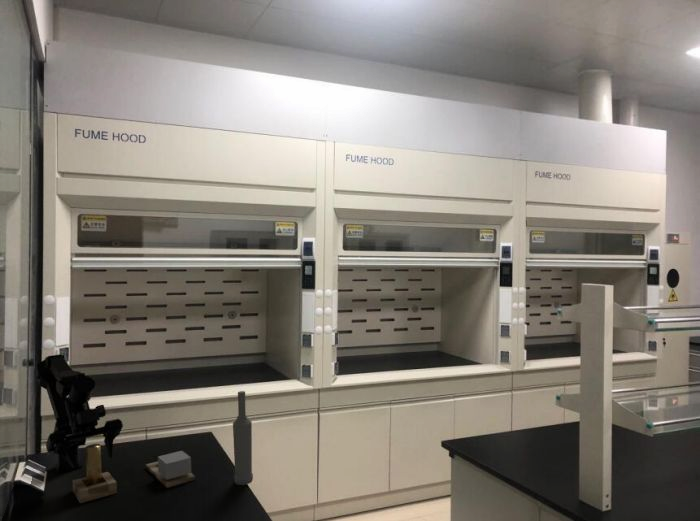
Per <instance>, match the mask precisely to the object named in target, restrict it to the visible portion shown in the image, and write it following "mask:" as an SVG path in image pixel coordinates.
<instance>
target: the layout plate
mask: <svg viewBox="0 0 700 521" xmlns="http://www.w3.org/2000/svg"><path fill="white" fill-rule="evenodd" d="M145 468H146V469H147V471H149V472H150V473H151V474H152V476H153V477H155V478H156V479H157V480H158V481H159V482H160V483H161V484H162V485H163V486H164V487H165V488H166V489H167V488H172V487H175V486H178V485H181V484H185V483H189V482H192V481H195V480H196V476H195V475H194V474H193V473H192V472H191V473H189V474H186V475H182V476H179V477H175V478H171V479H168V480H166V479H165V478H164V477H163V476H162V475H161V474H160V473H159V472H158V461H155V462H151V463H146V464H145Z"/></svg>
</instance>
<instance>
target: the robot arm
mask: <svg viewBox="0 0 700 521" xmlns="http://www.w3.org/2000/svg"><path fill="white" fill-rule="evenodd" d="M33 376H34V380H36V381H37V383H38V385H39V387H41V388H43V389H44V390H46V392H47V395H48V399H49V402H50V405H51V408H52V411H53V415H54V418H55V423H54V429H53V431H52V432H50V433H49V435H48V437H47V441H46V444H45V445H46V446H45V447H46V452H47V453H53V455H57V464H55V465H54V468H55V469H56V471H57V472H58V473H62V472H63V473H64V472H68V471H72V470H76V469H80V468H83V464H82V463H81V461H80V448H79V447H82V446H85V445H86V441H87V438H90V437H91V438H92V437H95V436H100V435H102V436H103V438H104V440H103V442H104V445H105V450H106V453H107V456H108V459H112V457H113V447H114V446H113V445H114V440H116V437H118V436H119V435H120V434H121V432H122V429H123V427H124V424H123V422H122V420H121V419H119V418H115V419H110V420H106V421H105V423H104V426H99V427H97V426H98V424H99V421H100V419H101V418H104V417H106V408H105V405H104V404H99V405H97V406H95V407H94V408H90V404H89V401H90V400H91V398H92V396H93V393H94V391H95V390H94V389H95V387H96V381H95V380H94V378H92V377H91V376H87V375H86V374H85V372H80V371H78V370H73V369H72V367H71V366H70V365H69V363H68V362H67V360H66V359H65V355H64V354H60V353H59V354H54V355H53V354H52V355H48V356H45V358H44V359H43V360H41V361H40V362H38V363H36V364H35V367H34V369H33Z"/></svg>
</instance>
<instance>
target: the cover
mask: <svg viewBox="0 0 700 521" xmlns="http://www.w3.org/2000/svg"><path fill="white" fill-rule="evenodd" d="M157 462H158V472H159V473H160V474H161V475H162V476H163V477H164V478H165V479H166V480H168V479H171V478H175V477H179V476H182V475H186V474H189V473H192V457H191V456H190V455H188V454H187V453H186V452H185V451H183V450H180V451H179V450H178V451H176V452H174V451H173V452H171V453H167V454H163V455H159V456H157Z"/></svg>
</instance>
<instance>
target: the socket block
mask: <svg viewBox="0 0 700 521" xmlns="http://www.w3.org/2000/svg"><path fill="white" fill-rule="evenodd" d="M101 473H102V483H100V484H96V485H92V486H88V487H87V476H86V477H85V476H84V477H81V478H77V479H72V492H73V494H74V496H75V498H76V499H77V500H78V503H79V504H83V503H87V502H90V501H93V500H98V499H100V498H103V497H107V496H108V497H109V496H111V495H115V494H117V493H118V490H117V489H118V488H117V486H118V485H117V481H116V479H115V478H114V477H113V475H111V473H110V472H109V471H105V472H101Z"/></svg>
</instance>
